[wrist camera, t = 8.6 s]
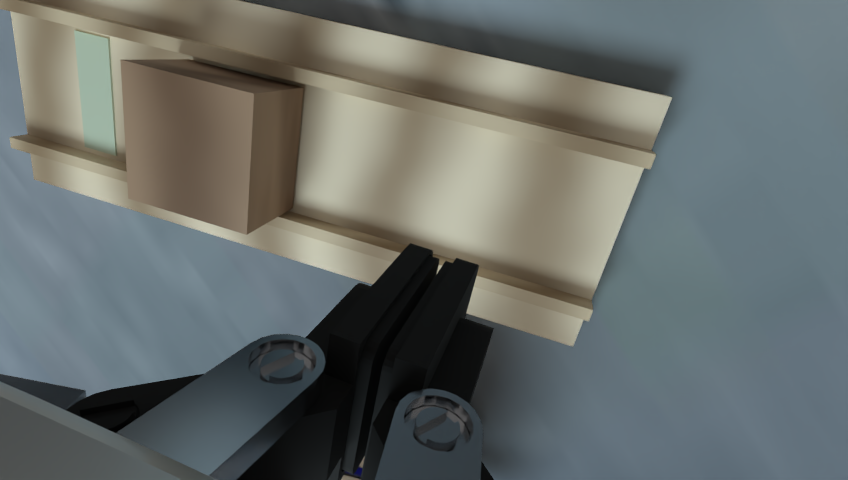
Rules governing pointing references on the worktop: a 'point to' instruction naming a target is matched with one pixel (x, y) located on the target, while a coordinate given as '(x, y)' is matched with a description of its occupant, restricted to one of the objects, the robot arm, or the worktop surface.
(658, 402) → the worktop surface
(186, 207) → the walnut slider
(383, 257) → the birch rail board
